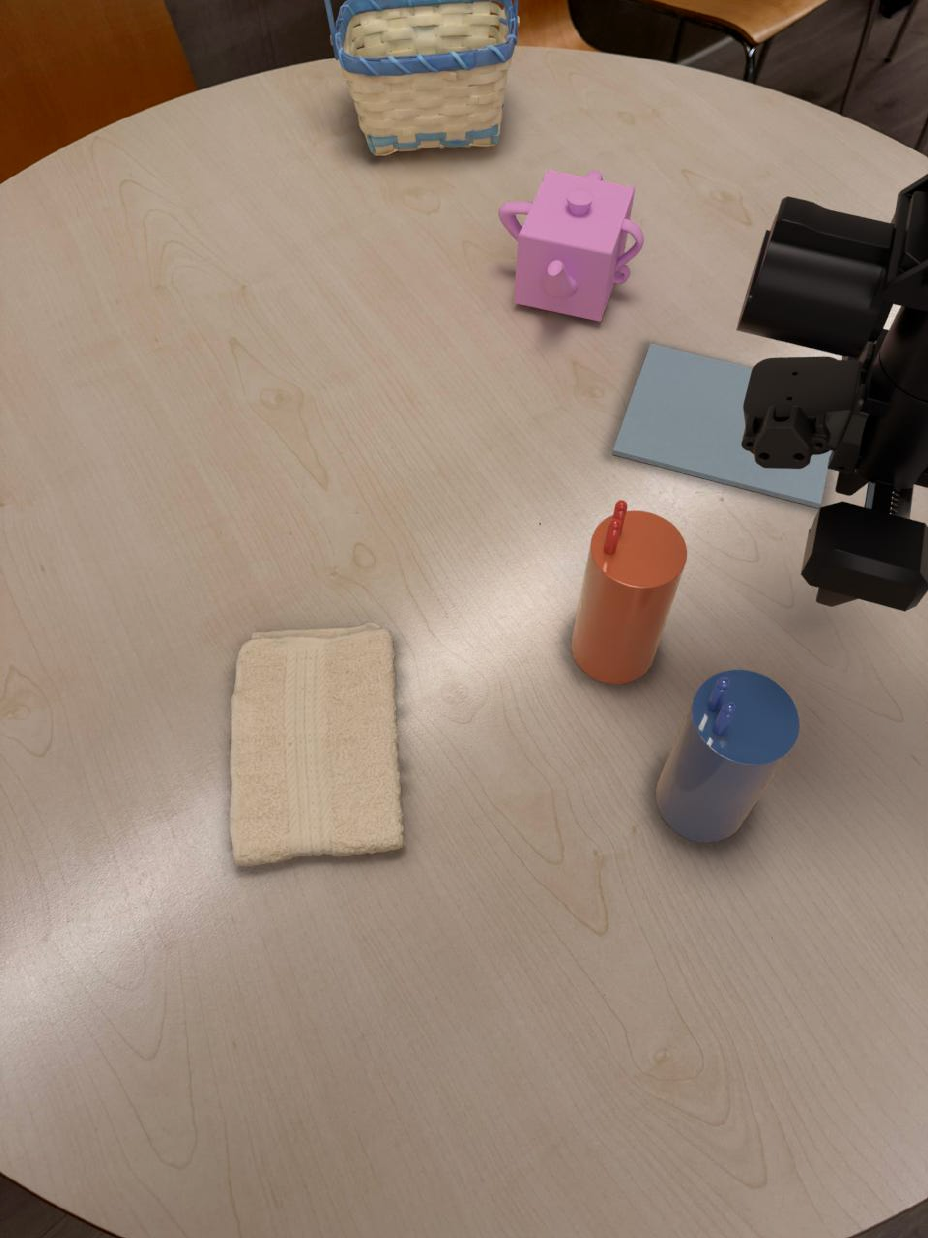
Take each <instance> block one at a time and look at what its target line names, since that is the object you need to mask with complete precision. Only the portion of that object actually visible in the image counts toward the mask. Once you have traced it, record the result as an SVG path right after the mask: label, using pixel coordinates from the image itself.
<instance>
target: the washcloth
mask: <svg viewBox="0 0 928 1238" xmlns="http://www.w3.org/2000/svg"><path fill="white" fill-rule="evenodd" d="M394 643H395V641H394V636H393V633H392V631H391V630H390V629H388V628H382V626H380V625H378V624H376V623H374V622H372V621H366V623H363V624H361V625H358V626H349V627H340V628H338V627H334V628H332V627H330V628H314V629H286V630H274V631H261V632H260V631H254V632H252V633H251V636H250V639H248V640H247V641H246V642H245V643H243V644H242V646H241V647H240V648H239V650H238V654H237V657H236V661H235V662H236V663H235V677H234V684H233V692H232V695H231V697H230V715H231V717H230V737H231V738H230V759H229V770H230V806H229V807H230V808H229V822H230V823H229V832H230V834H229V835H230V841H231V846H232V849H231V850H232V855H231V856H232V861H233V865H234V866H235V867H244V866H245V867H251V866H252V867H253V866H261V865H266V864H275V863H280V862H284V861H287V860H289V861H291V860H292V858H294V857H295V858H297V857H312V856H315V857H316V856H317V857H319V856H323V855H328V856H329V855H330V856H333V857H349V856H354V855H365V854H370V855H374V854H376V853H385V852H391V851H398V850H401V849H403V848H404V847H407V840H406V837H405V829H404V828H405V825H404V818H405V813H404V810H403V804H402V799H401V795H402V787H401V783H402V779H401V770H400V755H399V749H400V746H399V742H398V741H399V737H400V736H399V731H398V730H399V729H398V728H397V726H398V722H397V721H398V716H397V711H398V707H397V701H396V695H395V694H396V688H397V686H396V680H395V678H396V673H395V672H396V671H395V665H394V664H395V649H394V647H395V646H394Z"/></svg>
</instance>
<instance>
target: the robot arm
mask: <svg viewBox="0 0 928 1238" xmlns="http://www.w3.org/2000/svg"><path fill="white" fill-rule="evenodd" d="M761 241H762V242H761V245H760V248H759V251H758V254H757V257H756V261H755V264H754V267H753V270H752V274H751V276H750V280H749V284H748V287H747V290H746V293H745V297H744V300H743V304H742V306H741V311H740V314H739V318H738V321H737V326H736V331H737V332H741V333H745V334H749V335H754V336H758V337H762V338H766V339H770V340H774V341H778V342H783V343H787V344H790V345H795V346H799V347H803V348H807V349H811V350H814V351H819V352H822V353H823V352H824V353H828V354H832V355H836V356H840V357H841V359H837V358H835V357H833V356H825V355H824V356H790V357H789V356H786V357H785V356H784V357H781V356H780V357H767V358H764V359H762V360H759V361H758V362H757V363H756V364H755V365H754V366H753V367H752V368H753V369H752V372H751V376H750V380H749V384H748V388H747V392H746V396H745V400H744V404H743V410H744V418H745V426H746V427H745V431H744V435H743V439H742V443H741V445H742V447H743V448H744V449H745V450H747V451H750V452H751V453H753V454H754V458H755V462H756V463H757V464H758V465H760V466H761V467H763V468H771V469H803V468H805V467H806V466H808V465H809V464H810V461H811V456H812V455H819V454H824V453H826V452H829V451H830V450H832V452H831V455H830V457H829V462H828V467H827V469H828V470H831V471H835V472H838V473H837V479H836V483H835V489H834V491H835V493H837V494H839V495H843V496H847V497H851V496H853V495H855V494H856V493H857V492H859V491H860V490H861V489H863V488H864V487H865V486H866V485H867V489H866V493H865V501H864V506H862V505H858V504H854V503H851V502H847V501H838V502H836V503H831V504H827V505H823V506H820V507H819V508H818V511H817V513H816V515H815V516H814V518H813V520H812V523H811V524H812V525H811V526H810V528H809V530H808V534H807V538H806V544H805V549H804V554H803V560H802V566H801V569H800V570H801V571H800V576H801V577H802V578H803V579H804V580H805V582H806V584H808V585H809V586H811V587H815V588H817V591H816V596H815V603H817V604H818V605H819V604H820V605H822V606H826V607H831V608H832V607H837V606H840V605H843V604H846V603H849V602H854V601H856V600H861V601H865V602H869V603H871V604H876V605H878V606H882V607H887V608H890V609H894V610H898V611H901V612H904V613H905V612H907V611H909V610H911V609H914V608H916V607H917V606H918V605H919V603H921V601H922V600H923V598H924V596H925V595H926V594H927V593H928V525H927V523H926V522H922V521H920V520H915V519H911V512H912V505H913V495H914V488H915V486H918V487H922V488H925V489H928V173H927V174H925V175H923V176H921V177H920V178H918V179H917V180H915V181H914V182H912V183H910V184H909V185H907V186H905V187H904V188H902V189H901V190H900V191H899V192H898V195H897V201H896V206H895V211H894V215H893V216H892V219H891V220H890V222H888V221H883V220H878V219H873V218H871V217H870V218H869V217H865V216H861V215H857V214H852V213H847V212H843V211H839V210H834V209H831V208H827V207H823V206H822V205H819V204H818V203H815V202H813V201H810V200H807V199H802V198H798V197H795V196H794V197H793V196H789V195H787V196H785V197H783V198H782V199H781V201H780V204H779V207H778V211H777V213H776V214H775V216H774V219H773V221H772V224H771V227H770V229H766V230H765V232H764V235H763V237H762V240H761ZM894 305H895V306H899V309H898V311H897V313H896V315H895V317H894V319H893V321H892V323H891V325H890V327H889V329H887V328H885V326H886V324H887V321H888V319H889V316H890V313H891V311H892V309H893V306H894Z"/></svg>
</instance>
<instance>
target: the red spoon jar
mask: <svg viewBox="0 0 928 1238" xmlns="http://www.w3.org/2000/svg"><path fill="white" fill-rule="evenodd" d="M687 559H688V548H687V544H686V541H685V538H684V536H683V535H682V533H681V532H680V530H679V529H678V528H677V527H676V526H675V525H674V524H673V523H671V521H669V520H668V519H666V518H665V517H663V516H660V515H658V514H656V513H653V512H649V511H645V510H628V503H627V501H626V500H623V499H620V500H618V501H616V502H615V504H614V508H613V514H612V515H610V516H608V517H606V518H604V520H602V521H601V522H600V523H599V524H598V525H597V526H596V528H595V529H594V531H593V533H592V535H591V540H590V544H589V548H588V554H587V559H586V564H585V569H584V574H583V580H582V584H581V589H580V590H581V591H580V596H579V601H578V606H577V611H576V615H575V622H574V626H573V632H572V637H571V644H570V645H571V646H570V647H571V653H572V656H573V659H574V661H575V662H576V664H577V666H578V667H579V668H580V669H581V670H582V672H584V673H585V674H586V675H588V677H590V678H592V679H593V680H596V681H598V682H601V683H605V684H609V685H622V684H623V685H624V684H627V683H628V684H629V683H631V682H634V681H636V680H638V679H640V678H642V677H643V676H644V675H645V674H646V673H647V672H648V671H649V670H650V668H651V666H652V665H653V663H654V660H655V657H656V653H657V651H658V648H659V645H660V642H661V639H662V635H663V633H664V630H665V627H666V624H667V620H668V617H669V615H670V612H671V609H672V606H673V602H674V600H675V596H676V594H677V590H678V587H679V585H680V582H681V579H682V576H683V573H684V570H685V566H686V563H687V561H688V560H687Z"/></svg>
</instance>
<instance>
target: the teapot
mask: <svg viewBox="0 0 928 1238" xmlns="http://www.w3.org/2000/svg"><path fill="white" fill-rule="evenodd" d="M635 193H636V186H632V185H625V184H620V183H617V182H616V183H615V182H611V181H606V180H604V175H603V173H602V172H601V171H599V170H597V169H595V170H594V169H593V170H591V171H589V172H588V173H587V174H586V176H581V175H575V174H570V173H565V172H559V171H555V170H551V169H547V170H546V172H545V174H544V177H543V178H542V181H541V183H540V186H539V187H538V190H537V192H536V194H535V197H534V199H533V201H532V202H529V201H521V200H517V201H516V200H514V201H507V202H504V203H502V204H501V205H500V206H499V208H498V211H497V212H498V213H497V214H498V218H499V220H500V222H501V224H502V225H503V228H505V229H506V231H507V232H508V233H509V234H510V235H511V236H512V237H513V238H514V239H515V240H516V241H517V252H516V268H515V269H516V270H515V283H514V284H515V285H514V296H513V297H514V298H513V303H514V304H517V305H522V306H527V307H531V308H535V309H540V310H544V311H550V312H554V313H558V314H562V315H566V316H571V317H577V318H582V319H585V320H590V321H595V322H599V323H601V322H602V320H603V317H604V315H605V311H606V308H607V306H608V303H609V300H610V297H611V295H612V292H613V288H614V285H615V284H618V285H621V284H625V283H626V282H627V281H628V280H629V279H630V276H631V269H630V266H628V265H626V264H628V263H629V262H631V261H632V260H633V259H634V258H635V257H636V256H638V254H639V253H640V252H641V250H642V249H643V246H644V243H645V236H644V232H643V230H642V228H641V227H640V225H639V224H637V222H635V221H633V220H632V219H631V217H632V211H633V206H634V205H633V204H634V200H635V199H634V198H635ZM517 215H526V218H525V220H524V222H523V224H521V223H520V221H519V219H518V217H517ZM628 234H629V235H630V236H632V238H633V239H634V241H635V242H634V244H633V245H632V246H631V247H630V248H629V249H628V250H626V245H627V240H628Z"/></svg>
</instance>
